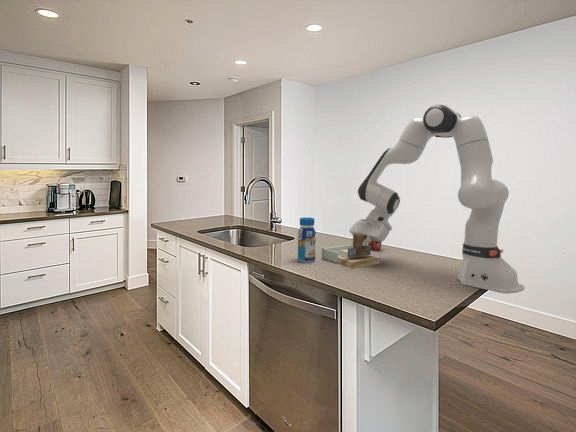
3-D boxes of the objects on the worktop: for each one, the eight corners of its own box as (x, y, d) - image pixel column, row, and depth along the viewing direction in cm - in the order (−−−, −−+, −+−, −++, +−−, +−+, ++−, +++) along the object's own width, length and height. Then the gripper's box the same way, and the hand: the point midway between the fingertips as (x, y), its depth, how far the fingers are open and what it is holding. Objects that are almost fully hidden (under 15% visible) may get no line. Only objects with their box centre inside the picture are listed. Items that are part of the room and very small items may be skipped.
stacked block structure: (371, 255, 168) (372, 233, 166) (351, 258, 162) (352, 235, 160) (366, 253, 171) (367, 232, 169) (346, 256, 165) (347, 234, 163)
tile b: (355, 257, 168) (355, 251, 167) (347, 258, 165) (347, 252, 165) (348, 255, 172) (348, 249, 171) (340, 256, 169) (340, 250, 169)
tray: (366, 259, 176) (366, 248, 175) (336, 263, 166) (336, 252, 166) (350, 254, 185) (351, 244, 184) (322, 258, 176) (322, 248, 175)
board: (379, 263, 167) (379, 258, 166) (352, 268, 158) (352, 262, 158) (364, 259, 175) (364, 254, 175) (338, 263, 167) (338, 257, 167)
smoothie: (382, 251, 192) (384, 213, 190) (366, 250, 194) (367, 213, 192) (382, 248, 200) (383, 212, 198) (366, 247, 202) (367, 211, 200)
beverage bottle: (299, 258, 176) (299, 216, 174) (316, 259, 174) (317, 217, 172) (295, 262, 168) (296, 219, 166) (314, 263, 166) (314, 219, 164)
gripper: (356, 214, 176) (340, 236, 173) (388, 219, 159) (370, 243, 155) (363, 223, 179) (347, 244, 175) (395, 229, 162) (378, 253, 158)
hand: (358, 244), depth 165 cm, fingers closed on stacked block structure, 3 cm apart
